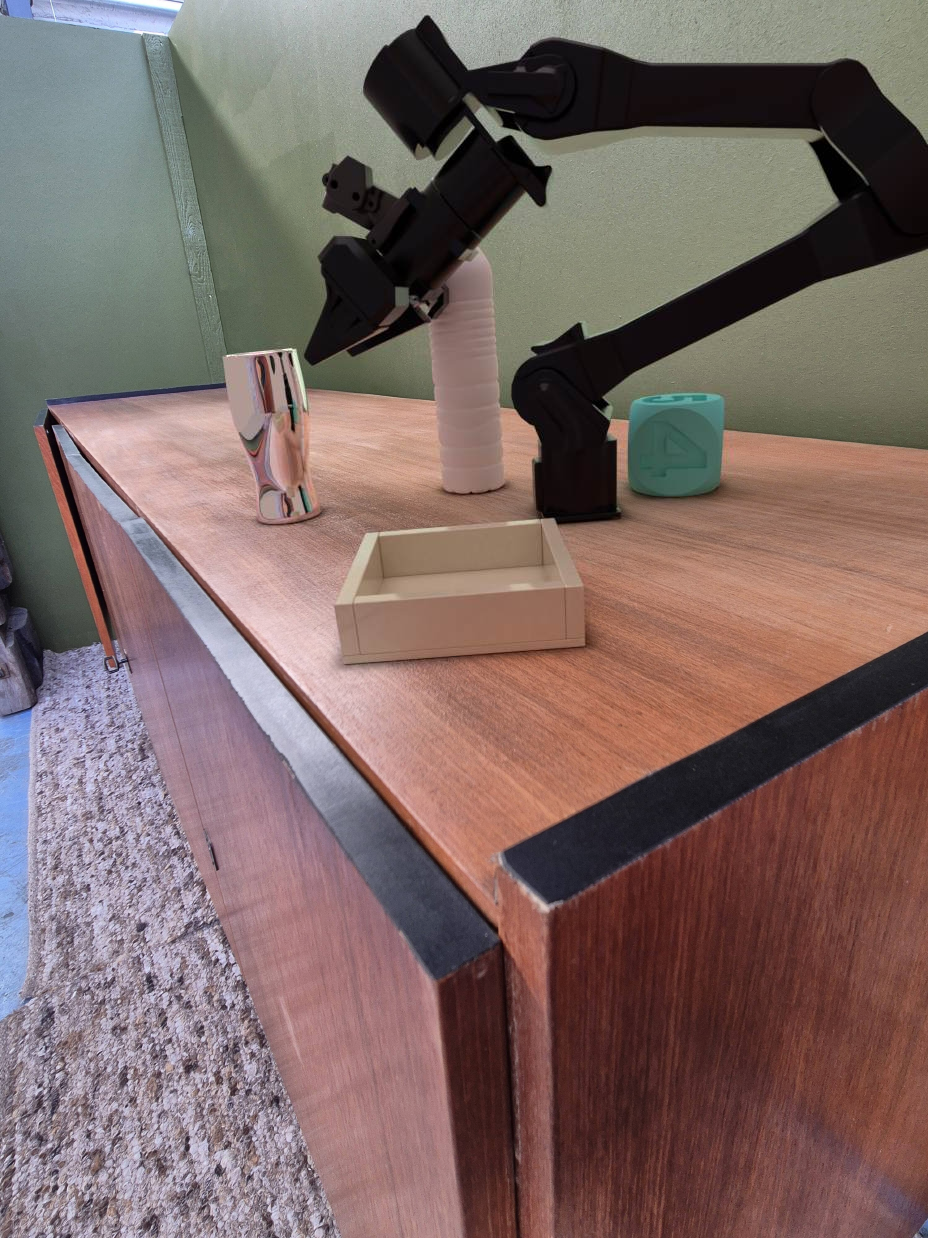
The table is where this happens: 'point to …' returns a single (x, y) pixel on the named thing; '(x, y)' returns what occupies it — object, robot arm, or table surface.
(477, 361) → the water bottle
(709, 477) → the decorative dice
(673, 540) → the table surface
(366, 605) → the tray
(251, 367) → the silver metal tumbler
